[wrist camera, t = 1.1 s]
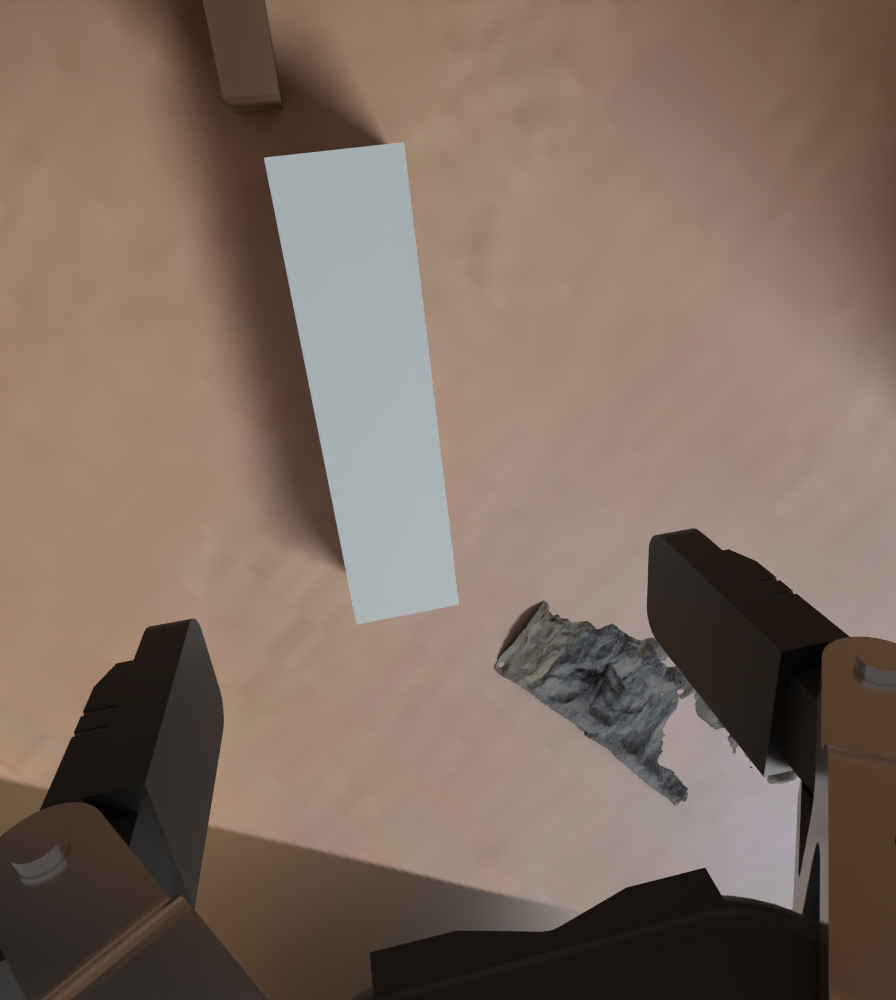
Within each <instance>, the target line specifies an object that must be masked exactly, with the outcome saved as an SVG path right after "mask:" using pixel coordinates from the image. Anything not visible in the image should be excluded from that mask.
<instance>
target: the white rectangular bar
mask: <svg viewBox="0 0 896 1000" xmlns="http://www.w3.org/2000/svg"><path fill="white" fill-rule="evenodd" d="M264 161H265V166H266V171H267V176H268V181H269V186H270V191H271V196H272V201H273V206H274V212H275V217H276V222H277V227H278V232H279V237H280V242H281V247H282V252H283V257H284V262H285V267H286V272H287V277H288V282H289V287H290V292H291V297H292V302H293V307H294V312H295V317H296V322H297V327H298V332H299V337H300V342H301V347H302V352H303V357H304V363H305V368H306V373H307V378H308V383H309V388H310V393H311V398H312V403H313V408H314V413H315V418H316V423H317V428H318V433H319V438H320V443H321V448H322V453H323V458H324V463H325V468H326V473H327V478H328V483H329V488H330V493H331V498H332V503H333V508H334V514H335V519H336V524H337V529H338V534H339V539H340V544H341V549H342V554H343V559H344V564H345V569H346V574H347V579H348V584H349V589H350V594H351V599H352V604H353V609H354V614H355V619H356V624H361V623H367V622H372V621H377V620H382V619H387V618H392V617H398V616H403V615H408V614H413V613H418V612H423V611H429V610H434V609H439V608H444V607H449V606H454V605H459V602H458V594H457V586H456V577H455V569H454V560H453V552H452V543H451V535H450V527H449V518H448V510H447V501H446V493H445V484H444V476H443V467H442V459H441V451H440V442H439V434H438V425H437V417H436V408H435V400H434V392H433V383H432V375H431V366H430V358H429V349H428V341H427V333H426V324H425V316H424V307H423V299H422V290H421V282H420V274H419V265H418V257H417V248H416V240H415V231H414V223H413V214H412V206H411V198H410V189H409V181H408V172H407V164H406V155H405V147H404V142H402V143H392V144H383V145H374V146H365V147H356V148H347V149H338V150H329V151H319V152H310V153H301V154H292V155H283V156H274V157H265V158H264Z"/></svg>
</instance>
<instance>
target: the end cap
mask: <svg viewBox="0 0 896 1000" xmlns="http://www.w3.org/2000/svg"><path fill="white" fill-rule="evenodd" d="M203 5H204V10H205V15H206V20H207V24H208V29H209V34H210V39H211V44H212V49H213V54H214V59H215V64H216V69H217V73H218V78H219V83H220V88H221V93H222V98H223V99H224V100H225V101H226V103H227V104H228V105H229V106H230V107H231V108H232V109H233V110H234V111H235V112H236V113H239V112H250V111H262V110H273V109H283V104H282V98H281V93H280V87H279V81H278V75H277V69H276V63H275V58H274V52H273V46H272V40H271V34H270V29H269V23H268V17H267V11H266V5H265V0H203Z"/></svg>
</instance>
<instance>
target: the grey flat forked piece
mask: <svg viewBox="0 0 896 1000" xmlns="http://www.w3.org/2000/svg"><path fill="white" fill-rule="evenodd" d="M667 657H668V655H667V653H666V652H665V651H664V650H663V648H662V647H661V646H660V645H659V643H658V642H657V640H655V639H654V638H647V639H645V640H643V641H640V640H636V639H634V638H632V637H629V636H628V635H627V634H625V633H624V632H622V631H621V630H619V629H618V627H617V626H615V625H614V624H610V625H608V626H605V627H603V628H601V629H595V627H593V625H592V624H591V623H589V622H588V621H586V622H582V621H581V622H574V623H572V622H570V621H569V620H568V619H562V618H560V616H559V615H555V616H553V615H552V614H551V613H550V612H549V605H548V603H546V602H545V601H543V603H542V604H541V605H540V606H539V609H538V611H537V612H536V613H535V615H534V617H533V618H531V621H530V622H529V623H528V625H527V627H526V629H524V630H523V631H522V633H521V634H519V637H517V638H516V640H515V642H514V643H513V644H512V645H511V646H510V647H509V648H508V649H507V650H506V651H505V652H504V653H503V654H502V656H500V658H499V659H498V662H497V664H496V671H497V673H498V674H500V675H501V676H503V677H505V678H506V679H509V680H511V681H512V682H514V683H517V684H518V685H520V686H521V688H524V689H525V690H527V691H528V692H530V693H531V694H532V695H534V696H535V697H536V698H538V700H540V702H542V703H544V705H546V706H549V708H551V709H552V710H554V711H556V712H557V713H559V714H560V715H561V716H563V717H564V718H567V719H568V720H570V721H571V722H573V723H575V724H577V725H578V726H579V727H581V728H582V729H583V730H584V735H585V736H587V737H588V738H591V739H593V740H594V741H597V742H598V743H599V744H600V745H602V746H604V747H606V748H608V749H609V750H610V751H611V752H612V753H613V755H614V756H615V757H616V758H617V759H618V760H620V761H622V762H623V763H624V764H625V765H626V766H628V768H630V769H631V770H632V771H633V773H634V774H637V775H638V776H639V778H641V779H643V781H644V782H645V783H647V784H648V785H649V786H651V787H652V788H653V789H655V790H656V791H658V792H659V793H661V794H662V795H664V796H666V797H668V798H669V799H670V800H672V802H674V805H675V806H676V805H677V804H678V803H679V802H680V801H684V802H685V801H686V799H687V795H688V793H687V789H688V788H687V787H685V786H684V785H683V784H682V782H681V781H680V780H679V779H678V777H677V776H675V775H674V772H673V771H672V770H670V769H667V768H664V767H663V766H660V765H659V764H658V762H657V759H658V757H659V755H660V754H661V753H662V752H663V751H662V750H661V747H662V744H663V741H662V738H663V737H664V736H665V735H664V734H663V728H664V726H665V723H666V721H667V720H668V718H669V716H670V715H671V714H672V713H673V712H674V711H675V710H676V708H677V704H678V697H680V698H681V699H683V698H685V697H686V696H688V695H690V694H691V693H694V692H696V690H695V689H694V688H693V686H692V685H691V684H690V683H689V681H688V680H687V679H686V678H685V676H684V675H683V674H682V672H681V671H680V670H679V669H678V667H677V666H675V667H666V665H665V664H664V663H661V661H660V660H664V661H665V660H666V659H667ZM500 662H505V666H504V668H500V667H499V666H498V664H499V663H500ZM679 689H683V690H684V692H683V693H682V694H680V695H678V693H677V690H679ZM660 693H662V695H661V694H660ZM694 698H695V700H696V703H695V705H696V711H697V715H698V716H699V717H700V718H701V719H702V720H704V721H705V722H707V723H708V724H709V725H710V726H711V727H715V729H719V728H725V727H724V726H723V725H722V723H721V722H720V721H719V719H718V718H717V717H716V716H715V714H714V713H713V712H712V711H711V709H710V708H709V707H708V705H707V704H706V703H705V702H704V700H703V699H702V698H701V697H700V695H699V694H698V693H697V692H696V693H695V695H694ZM673 701H674V702H673ZM728 740H729V742H730V743H731V744H730V746H731V747H732V748H733V753H734V754H735V752H736V747H737V746H738V744H737V742H736V741H735V740H734V739H733V737H732V736H731V735H730V736H729V737H728ZM745 756H746V757H748V756H747V755H746V754H745ZM750 762H751V760H750ZM750 768H752V767H750ZM667 774H668V775H667ZM796 778H797V774H796V773H795V772H794V771H793V770H791V771H787V772H783V773H779V774H775V775H770V776H768V779H767V781H768V783H770V784H774V783H778V784H781V783H786V782H789V781H793V780H795V779H796Z"/></svg>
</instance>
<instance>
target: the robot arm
mask: <svg viewBox="0 0 896 1000" xmlns="http://www.w3.org/2000/svg"><path fill="white" fill-rule="evenodd" d="M647 615H648V620H649V624H650V627H651V630H652V633H653V635H654V637H655V639H656V640H657V642H658V643H659V645H660V646H661V647H662V648H663V650H664V651H665V652H666V653H667V655H668V656H669V657H670V659H671V660H672V661H673V662H674V664H675V665H676V666H677V667H678V669H679V670H680V671H681V672H682V674H683V675H684V676H685V678H686V679H687V680H688V681H689V683H690V684H691V685H692V686H693V688H694V689H695V690H696V692H697V693H698V694H699V695H700V697H701V698H702V699H703V700H704V702H705V703H706V704H707V705H708V707H709V708H710V709H711V711H712V712H713V713H714V714H715V716H716V717H717V718H718V719H719V721H720V722H721V723H722V725H723V726H724V727H725V728H726V730H727V731H728V732H729V733H730V735H731V736H732V737H733V739H734V740H735V741H736V742H737V744H738V745H739V746H740V747H741V749H742V750H743V751H744V752H745V754H746V755H747V756H748V758H749V759H750V760H751V761H752V763H753V764H754V765H755V766H756V768H757V769H758V770H759V772H760V773H761V774H762V775H763V777H766V776H770V775H775V774H779V773H783V772H787V771H791V770H793V771H794V772H795V773H796V774H797V776H798V777H799V778H800V779H801V782H800V787H799V793H798V807H797V830H796V854H795V877H794V897H793V910H789V909H786V908H784V907H781V906H778V905H775V904H772V903H768V902H764V901H759V900H755V899H751V898H744V897H736V896H723V895H721V894H720V892H719V890H718V889H717V887H716V885H715V884H714V882H713V880H712V879H711V877H710V875H709V874H708V872H707V870H706V868H702V869H698V870H694V871H690V872H686V873H682V874H678V875H675V876H671V877H667V878H663V879H659V880H655V881H651V882H647V883H643V884H639V885H635V886H631V887H627V888H625V889H624V890H622V891H620V892H618V893H617V894H615V895H613V896H612V897H610V898H608V899H606V900H605V901H603V902H601V903H600V904H598V905H596V906H594V907H593V908H591V909H589V910H588V911H586V912H584V913H582V914H581V915H579V916H577V917H576V918H574V919H572V920H570V921H569V922H567V923H565V924H564V925H562V926H560V927H558V928H556V929H554V930H551V931H545V932H517V931H516V932H515V931H513V932H512V931H453V932H450V933H446V934H441V935H437V936H433V937H430V938H426V939H422V940H418V941H414V942H410V943H406V944H402V945H398V946H394V947H390V948H386V949H382V950H378V951H374V952H371V953H370V959H371V970H372V984H371V985H370V986H368V987H366V988H365V989H363V990H361V991H360V992H358V993H356V994H355V995H354V996H352V997H351V998H350V999H348V1000H896V643H893V642H890V641H887V640H882V639H878V638H871V637H849V636H848V635H847V634H846V633H844V632H843V631H842V630H841V629H839V628H838V627H837V626H836V625H834V624H833V623H832V622H831V621H830V620H828V619H827V618H826V617H825V616H823V615H822V614H821V613H820V612H818V611H817V610H816V609H815V608H813V607H812V606H811V605H810V604H809V603H807V602H806V601H805V600H804V599H802V598H801V597H800V596H799V595H797V594H793V592H792V590H791V589H790V588H789V587H788V586H786V585H785V584H784V583H783V582H781V581H777V580H776V577H775V576H774V575H773V574H771V573H770V572H769V571H768V570H767V569H765V568H764V567H763V566H762V565H760V564H759V563H758V562H757V561H755V560H752V559H750V558H748V557H745V556H743V555H741V554H738V553H736V552H734V551H731V550H729V549H728V550H721V549H720V548H719V547H718V546H717V545H716V544H714V543H713V542H712V541H711V540H710V539H709V538H707V537H706V536H705V535H704V534H703V533H701V532H700V531H699V530H697V529H693V528H692V529H687V530H682V531H676V532H671V533H665V534H660V535H655V536H653V537H652V539H651V541H650V545H649V561H648V590H647ZM83 713H84V716H81V718H80V720H79V722H78V724H77V727H76V729H75V731H74V734H75V736H74V737H72V738H71V740H70V743H69V745H68V747H67V749H66V752H65V754H64V756H63V759H62V761H61V763H60V765H59V768H58V770H57V772H56V775H55V777H54V779H53V781H52V784H51V786H50V788H49V790H48V793H47V795H46V798H45V800H44V802H43V804H42V807H41V809H40V811H39V812H36V813H34V814H32V815H30V816H28V817H27V818H25V819H23V820H21V821H20V822H19V823H17V824H16V825H14V826H13V827H11V828H10V829H9V830H8V831H6V832H5V833H4V834H3V835H2V836H1V837H0V1000H269V999H268V998H267V997H266V996H265V994H264V993H263V992H262V991H261V990H260V988H259V987H258V986H257V985H256V983H255V982H254V981H253V980H252V979H251V977H250V976H249V975H248V974H247V973H246V972H245V970H244V969H243V968H242V967H241V966H240V964H239V963H238V962H237V960H236V959H235V958H234V957H233V956H232V954H231V953H230V952H229V951H228V950H227V948H226V947H225V946H224V945H223V944H222V942H221V941H220V940H219V939H218V938H217V936H216V935H215V934H214V933H213V931H212V930H211V929H210V928H209V927H208V926H207V924H206V923H205V922H204V921H203V919H202V918H201V917H200V916H199V915H198V913H197V912H196V911H195V910H194V909H195V902H196V896H197V890H198V883H199V877H200V871H201V865H202V858H203V852H204V846H205V840H206V834H207V827H208V821H209V815H210V809H211V803H212V796H213V790H214V784H215V778H216V771H217V765H218V759H219V753H220V746H221V740H222V734H223V726H224V714H223V703H222V697H221V693H220V689H219V686H218V683H217V679H216V676H215V673H214V669H213V666H212V663H211V660H210V656H209V653H208V650H207V647H206V643H205V640H204V637H203V633H202V630H201V628H200V625H199V623H198V622H197V620H196V619H188V620H183V621H177V622H172V623H166V624H161V625H155V626H150V627H147V628H146V630H145V632H144V634H143V637H142V639H141V642H140V645H139V647H138V650H137V653H136V655H135V658H134V660H132V661H127V662H122V663H117V664H116V665H115V666H114V667H113V668H112V669H111V670H110V671H109V672H108V673H107V674H106V675H105V676H104V677H103V678H102V679H101V680H100V681H99V682H98V683H97V684H96V685H95V686H94V688H93V690H92V693H91V695H90V697H89V699H88V702H87V704H86V706H85V708H84V711H83Z"/></svg>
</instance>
